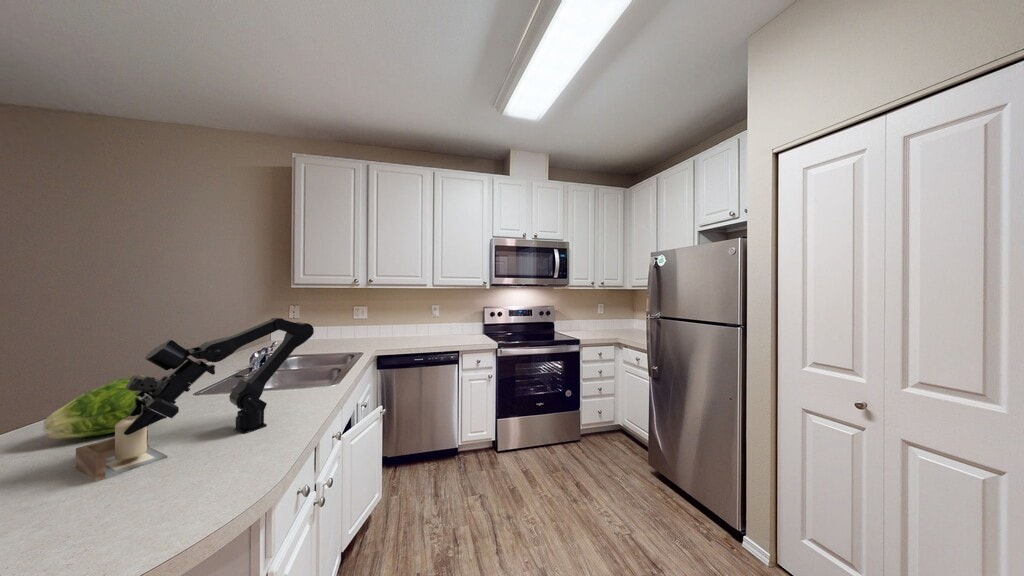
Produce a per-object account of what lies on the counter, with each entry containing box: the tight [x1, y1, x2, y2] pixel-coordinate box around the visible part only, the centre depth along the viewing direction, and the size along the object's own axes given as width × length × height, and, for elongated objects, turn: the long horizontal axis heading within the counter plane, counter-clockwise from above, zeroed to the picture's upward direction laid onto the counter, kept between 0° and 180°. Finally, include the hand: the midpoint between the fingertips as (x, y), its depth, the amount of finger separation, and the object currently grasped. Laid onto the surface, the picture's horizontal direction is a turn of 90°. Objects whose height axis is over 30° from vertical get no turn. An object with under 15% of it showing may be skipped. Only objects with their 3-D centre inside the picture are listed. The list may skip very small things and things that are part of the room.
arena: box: [75, 429, 168, 483], centre depth 87 cm, size 12×14×5 cm
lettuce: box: [42, 374, 147, 440], centre depth 104 cm, size 17×23×16 cm
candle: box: [114, 415, 148, 460], centre depth 87 cm, size 6×6×10 cm
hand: (123, 431), depth 86 cm, fingers closed on candle, 5 cm apart
